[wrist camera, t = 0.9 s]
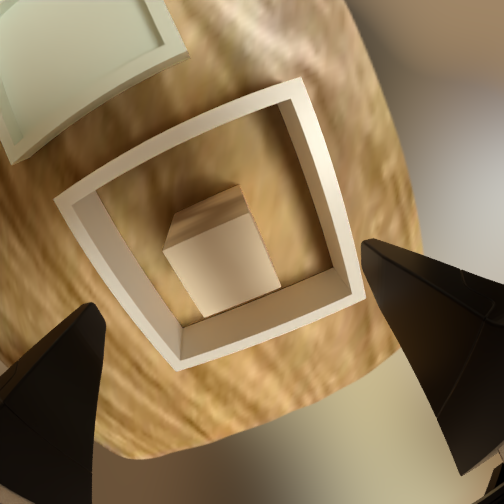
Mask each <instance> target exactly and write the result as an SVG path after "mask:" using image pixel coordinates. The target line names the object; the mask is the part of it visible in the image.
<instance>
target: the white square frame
mask: <svg viewBox="0 0 504 504" xmlns="http://www.w3.org/2000/svg"><path fill="white" fill-rule="evenodd" d="M276 103H277V105H278V107H279V110H280V112H281V115H282V117H283V120H284V122H285V125H286V127H287V130H288V132H289V135H290V138H291V140H292V143H293V146H294V148H295V151H296V154H297V157H298V159H299V162H300V165H301V168H302V170H303V173H304V176H305V179H306V182H307V185H308V188H309V191H310V194H311V196H312V199H313V202H314V206H315V209H316V212H317V215H318V218H319V221H320V224H321V227H322V230H323V234H324V237H325V240H326V243H327V247H328V250H329V254H330V257H331V260H332V264H333V268H331V269H329V270H326V271H324V272H322V273H319V274H317V275H315V276H312V277H310V278H308V279H305V280H303V281H301V282H298V283H296V284H294V285H291V286H289V287H286V288H284V289H282V290H279V291H277V292H274V293H272V294H269V295H267V296H264V297H262V298H260V299H257V300H255V301H252V302H250V303H247V304H245V305H242V306H240V307H237V308H234V309H232V310H229V311H227V312H224V313H222V314H219V315H216V316H214V317H211V318H208V319H206V320H203V321H201V322H198V323H195V324H193V325H190V326H187V327H184V328H182V326H181V325H180V324H179V322H178V321H177V319H176V318H175V317H174V315H173V314H172V312H171V311H170V310H169V308H168V307H167V305H166V304H165V302H164V301H163V300H162V298H161V297H160V295H159V294H158V292H157V291H156V289H155V288H154V286H153V285H152V283H151V282H150V280H149V279H148V277H147V276H146V274H145V273H144V271H143V270H142V268H141V267H140V265H139V264H138V262H137V260H136V259H135V257H134V256H133V254H132V252H131V251H130V249H129V248H128V246H127V244H126V243H125V241H124V239H123V238H122V236H121V234H120V233H119V231H118V229H117V228H116V226H115V224H114V223H113V221H112V219H111V217H110V216H109V214H108V212H107V210H106V209H105V207H104V205H103V203H102V202H101V200H100V198H99V196H98V194H97V192H96V191H95V190H96V189H98V188H100V187H101V186H103V185H105V184H106V183H108V182H110V181H111V180H113V179H115V178H116V177H118V176H120V175H122V174H123V173H125V172H127V171H129V170H131V169H132V168H134V167H136V166H138V165H140V164H141V163H143V162H145V161H147V160H149V159H151V158H153V157H155V156H157V155H159V154H160V153H162V152H164V151H166V150H168V149H170V148H172V147H174V146H177V145H179V144H181V143H183V142H185V141H187V140H189V139H191V138H193V137H195V136H198V135H200V134H202V133H204V132H206V131H209V130H211V129H213V128H216V127H218V126H220V125H223V124H225V123H227V122H230V121H232V120H235V119H237V118H239V117H242V116H244V115H247V114H250V113H252V112H255V111H257V110H260V109H263V108H265V107H268V106H271V105H274V104H276ZM53 200H54V202H55V204H56V205H57V207H58V209H59V211H60V213H61V214H62V216H63V218H64V220H65V221H66V223H67V225H68V226H69V228H70V230H71V231H72V233H73V235H74V236H75V238H76V240H77V241H78V243H79V244H80V246H81V248H82V249H83V251H84V252H85V254H86V255H87V257H88V258H89V260H90V261H91V263H92V264H93V266H94V267H95V269H96V270H97V272H98V273H99V275H100V276H101V278H102V279H103V281H104V282H105V283H106V285H107V286H108V288H109V289H110V290H111V292H112V293H113V295H114V296H115V297H116V299H117V300H118V301H119V303H120V304H121V305H122V307H123V308H124V309H125V311H126V312H127V313H128V315H129V316H130V317H131V319H132V320H133V321H134V322H135V324H136V325H137V326H138V327H139V329H140V330H141V331H142V332H143V334H144V335H145V336H146V337H147V338H148V340H149V341H150V342H151V343H152V345H153V346H154V347H155V348H156V349H157V350H158V352H159V353H160V354H161V355H162V356H163V357H164V359H165V360H166V361H167V362H168V363H169V364H170V365H171V366H172V368H173V369H174V370H175V371H176V372H177V371H180V370H183V369H186V368H190V367H193V366H196V365H199V364H202V363H205V362H208V361H211V360H214V359H217V358H220V357H223V356H226V355H229V354H232V353H235V352H237V351H240V350H243V349H246V348H248V347H251V346H254V345H257V344H259V343H262V342H265V341H267V340H270V339H272V338H275V337H278V336H280V335H283V334H285V333H288V332H290V331H293V330H295V329H298V328H300V327H302V326H305V325H307V324H310V323H312V322H314V321H317V320H319V319H321V318H324V317H326V316H328V315H331V314H333V313H335V312H337V311H340V310H342V309H344V308H346V307H348V306H351V305H353V304H355V303H357V302H359V301H361V300H364V299H366V296H365V291H364V286H363V281H362V276H361V271H360V267H359V262H358V258H357V253H356V249H355V245H354V241H353V237H352V233H351V229H350V225H349V221H348V217H347V213H346V210H345V206H344V202H343V199H342V195H341V192H340V188H339V185H338V181H337V178H336V175H335V171H334V168H333V165H332V162H331V159H330V156H329V152H328V149H327V146H326V143H325V140H324V137H323V134H322V132H321V129H320V126H319V123H318V120H317V117H316V115H315V112H314V109H313V107H312V104H311V101H310V99H309V96H308V93H307V91H306V88H305V86H304V83H303V81H302V78H301V77H299V78H295V79H292V80H289V81H286V82H283V83H280V84H277V85H274V86H271V87H268V88H265V89H262V90H260V91H257V92H254V93H251V94H249V95H246V96H243V97H241V98H238V99H236V100H233V101H231V102H228V103H226V104H223V105H221V106H219V107H216V108H214V109H211V110H209V111H207V112H205V113H202V114H200V115H198V116H196V117H193V118H191V119H189V120H187V121H185V122H183V123H181V124H179V125H177V126H174V127H172V128H170V129H168V130H166V131H164V132H162V133H160V134H159V135H157V136H155V137H153V138H151V139H149V140H147V141H145V142H143V143H142V144H140V145H138V146H136V147H134V148H132V149H131V150H129V151H127V152H125V153H124V154H122V155H120V156H118V157H117V158H115V159H113V160H112V161H110V162H108V163H107V164H105V165H103V166H102V167H100V168H99V169H97V170H95V171H94V172H92V173H91V174H89V175H88V176H86V177H84V178H83V179H81V180H80V181H78V182H77V183H75V184H74V185H72V186H71V187H70V188H68V189H67V190H65V191H64V192H62V193H61V194H60V195H58V196H57V197H55V198H54V199H53Z"/></svg>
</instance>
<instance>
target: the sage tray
mask: <svg viewBox="0 0 504 504" xmlns="http://www.w3.org/2000/svg"><path fill="white" fill-rule="evenodd" d="M189 58H190V56H189V53H188V51H187V49H186V47H185V45H184V42H183V40H182V38H181V36H180V34H179V32H178V30H177V28H176V26H175V24H174V21H173V19H172V17H171V15H170V13H169V11H168V9H167V7H166V5H165V3H164V1H163V0H0V140H1V143H2V145H3V148H4V150H5V152H6V155H7V157H8V159H9V161H10V164H11V165H13V164H16V163H18V162H21V161H23V160H26V159H29V158H30V157H31V156H32V155H33V154H35V153H36V152H37V151H38V150H39V149H41V148H42V147H43V146H44V145H46V144H47V143H48V142H49V141H51V140H52V139H53V138H55V137H56V136H57V135H59V134H60V133H61V132H63V131H64V130H65V129H67V128H68V127H69V126H71V125H72V124H74V123H75V122H76V121H78V120H79V119H81V118H82V117H84V116H85V115H87V114H88V113H90V112H91V111H93V110H94V109H96V108H97V107H99V106H100V105H102V104H104V103H105V102H107V101H108V100H110V99H112V98H113V97H115V96H117V95H118V94H120V93H122V92H124V91H125V90H127V89H129V88H131V87H132V86H134V85H136V84H138V83H140V82H142V81H143V80H145V79H147V78H149V77H151V76H153V75H155V74H157V73H159V72H161V71H163V70H165V69H167V68H169V67H171V66H174V65H176V64H178V63H180V62H182V61H185V60H187V59H189Z"/></svg>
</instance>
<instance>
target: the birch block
mask: <svg viewBox="0 0 504 504" xmlns="http://www.w3.org/2000/svg"><path fill="white" fill-rule="evenodd" d="M163 253H164V255H165V256H166V258H167V260H168V261H169V263H170V265H171V266H172V268H173V269H174V271H175V273H176V274H177V276H178V278H179V279H180V281H181V282H182V284H183V286H184V287H185V289H186V290H187V292H188V293H189V295H190V297H191V298H192V300H193V301H194V303H195V304H196V306H197V307H198V309H199V310H200V312H201V313H202V315H203V317H204V318H205V317H208V316H210V315H213V314H215V313H218V312H221V311H223V310H226V309H228V308H231V307H233V306H236V305H238V304H241V303H243V302H246V301H248V300H251V299H253V298H256V297H258V296H261V295H263V294H266V293H268V292H271V291H273V290H276V289H278V288H280V287H281V285H280V282H279V279H278V277H277V274H276V271H275V269H274V266H273V263H272V261H271V258H270V256H269V253H268V250H267V248H266V245H265V243H264V240H263V238H262V236H261V233H260V231H259V229H258V226H257V224H256V222H255V220H254V217H253V215H252V213H251V210H250V208H249V206H248V204H247V201H246V199H245V197H244V194H243V192H242V190H241V188H240V185H236V186H234V187H232V188H230V189H227V190H225V191H223V192H220V193H218V194H216V195H214V196H211V197H209V198H207V199H205V200H203V201H200V202H198V203H196V204H194V205H192V206H190V207H187V208H185V209H183V210H181V211H179V212H177V213H175V214H174V217H173V220H172V223H171V226H170V229H169V232H168V235H167V238H166V241H165V244H164V247H163Z"/></svg>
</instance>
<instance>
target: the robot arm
mask: <svg viewBox="0 0 504 504" xmlns="http://www.w3.org/2000/svg"><path fill="white" fill-rule="evenodd" d="M361 265H362V269H363V272H364V274H365V276H366V279H367V281H368V283H369V285H370V288H371V290H372V292H373V295H374V297H375V299H376V301H377V304H378V306H379V308H380V310H381V312H382V314H383V315H384V317H385V319H386V321H387V322H388V324H389V326H390V328H391V329H392V331H393V333H394V335H395V337H396V339H397V340H398V342H399V344H400V346H401V348H402V350H403V352H404V353H405V355H406V357H407V359H408V361H409V363H410V365H411V367H412V369H413V371H414V373H415V375H416V377H417V379H418V380H419V383H420V385H421V387H422V388H423V391H424V393H425V395H426V397H427V399H428V401H429V403H430V405H431V408H432V410H433V412H434V414H435V416H436V417H437V421H438V423H439V425H440V427H441V430H442V432H443V434H444V437H445V439H446V441H447V444H448V446H449V449H450V451H451V453H452V456H453V458H454V461H455V463H456V466H457V469H458V471H459V473H460V475H461V476H463V475H465V474H466V473H468V472H470V471H471V470H473V469H474V468H476V467H477V466H479V465H480V464H482V463H484V462H485V461H486V460H488V459H490V458H491V457H492V456H494V455H495V454H497V453H498V452H499V454H500V456H501V459H502V461H503V463H501V464H500V465H499V466H497V467H496V468H495V469H494V470H493V473H492V476H491V479H490V481H489V484H488V487H487V489H486V492H485V495H484V496H483V497H482V498H480V499H479V500H477V501H476V502H474V503H473V504H504V284H501V283H498V282H495V281H492V280H489V279H486V278H483V277H480V276H477V275H475V274H472V273H469V272H467V271H464V270H461V271H460V269H459V268H456V267H454V266H451V265H448V264H445V263H443V262H440V261H437V260H435V259H432V258H429V257H426V256H424V255H421V254H418V253H415V252H412V251H409V250H407V249H404V248H401V247H398V246H395V245H392V244H389V243H386V242H383V241H380V240H377V239H374V238H373V239H368V240H364V241H362V243H361ZM105 333H106V322H105V320H104V318H103V316H102V315H101V313H100V311H99V310H98V308H97V306H96V305H95V304H94V303H92V302H90V303H85V304H82V305H81V306H80V307H79V308H77V309H76V310H75V311H74V312H73V313H71V314H70V315H69V316H68V317H67V318H65V319H64V320H63V321H62V322H61V323H60V324H58V325H57V326H56V327H55V328H54V329H53V330H51V331H50V332H49V333H48V334H47V335H46V336H44V337H43V338H42V339H41V340H40V341H39V342H38V343H36V344H35V345H34V346H33V347H32V348H31V349H30V350H29V351H28V352H26V353H25V354H24V355H23V356H22V357H21V358H20V359H19V361H16V362H15V363H14V364H13V365H12V366H11V367H10V368H9V369H8V370H7V371H6V372H5V373H4V374H2V375H1V376H0V504H92V458H93V443H94V430H95V420H96V410H97V402H98V394H99V387H100V380H101V373H102V367H103V357H104V344H105Z"/></svg>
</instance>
